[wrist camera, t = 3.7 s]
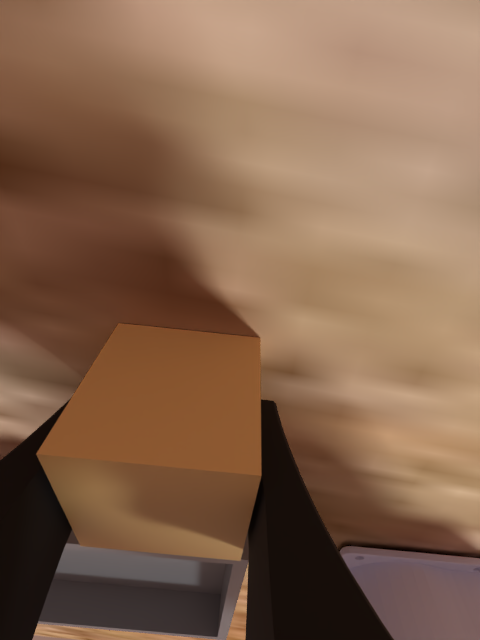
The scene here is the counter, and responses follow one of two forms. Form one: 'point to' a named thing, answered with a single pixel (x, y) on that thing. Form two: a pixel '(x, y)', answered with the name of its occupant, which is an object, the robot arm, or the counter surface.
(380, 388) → the counter surface
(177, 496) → the ochre block
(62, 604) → the charcoal tray
